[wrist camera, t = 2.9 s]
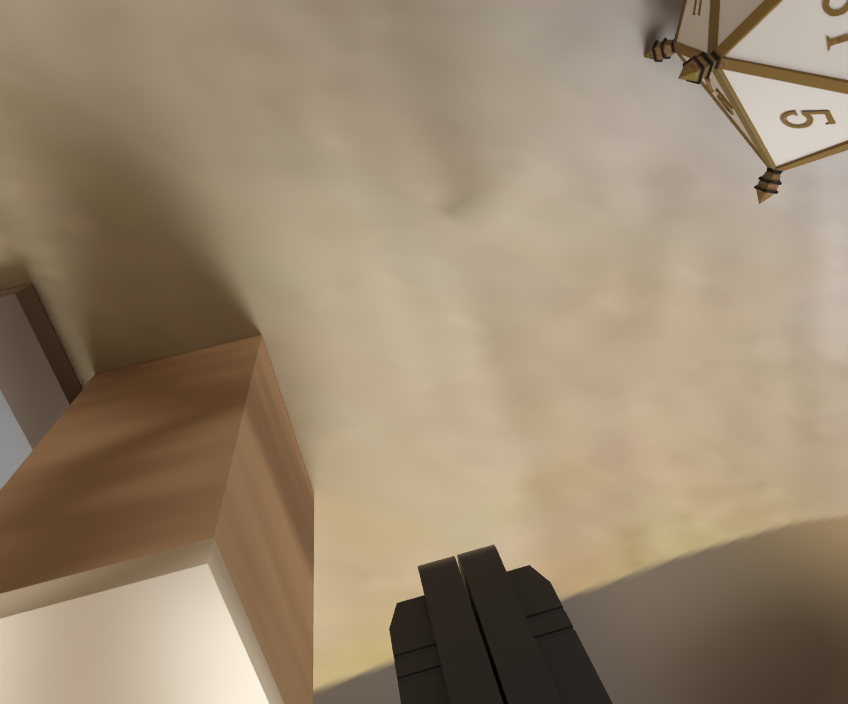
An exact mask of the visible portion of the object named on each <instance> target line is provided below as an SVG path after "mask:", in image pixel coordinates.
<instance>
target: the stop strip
mask: <svg viewBox="0 0 848 704" xmlns="http://www.w3.org/2000/svg"><path fill="white" fill-rule="evenodd" d="M0 390H1V392H2V394H3V396H4V398H5V399H6V401H7V403H8V405H9V407H10V409H11V411H12V412H13V414H14V416H15V418H16V420H17V422H18V424H19V425H20V427H21V429H22V431H23V433H24V435H25V436H26V438H27V440H28V442H29V444H30V446H31V448H32V449H34V448H35V447H36V446H37V445H38V443H39V442H40V441H41V440H42V438H43V437H44V436H45V435H46V434H47V432H48V431H49V430H50V429H51V427H52V426H53V425H54V424H55V423H56V421H57V420H58V419H59V418H60V417H61V415H62V414H63V413H64V412H65V410H66V409H67V408H68V407H69V406H70V404H71V403H72V402H73V401H74V399H75V398H76V397H77V396H78V395H79V393H80V392H81V391H82V388H81V386H80V384H79V382H78V380H77V378H76V376H75V373H74V371H73V369H72V367H71V365H70V363H69V361H68V359H67V357H66V355H65V352H64V350H63V348H62V346H61V344H60V342H59V340H58V338H57V336H56V334H55V332H54V329H53V327H52V325H51V323H50V321H49V319H48V317H47V315H46V313H45V311H44V309H43V306H42V304H41V302H40V300H39V298H38V296H37V294H36V292H35V290H34V288H33V285H32V283H31V284H27V285H23V286H18V287H14V288H9V289H5V290H0Z"/></svg>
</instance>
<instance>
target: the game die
mask: <svg viewBox="0 0 848 704" xmlns="http://www.w3.org/2000/svg"><path fill="white" fill-rule="evenodd" d="M674 53H677V55H678V56H679V57H680V58H681V60H682V61H683V62H684V63H683V69H682V72H681V74H680V76H679V78H678V79H684V80H686V81H688V82H692V83H696V84H700V83H701V85H702V86H703V87H704V88H705V90H706V91H707V92H708V93H709V95H710V96H711V97H712V98H713V100H714V101H715V102H716V103H717V105H718V106H719V107H720V108H721V110H722V111H723V112H724V113H725V115H726V116H727V117H728V118H729V120H730V121H731V122H732V123H733V125H734V126H735V127H736V129H737V130H738V131H739V132H740V134H741V135H742V136H743V137H744V139H745V140H746V141H747V142H748V144H749V145H750V146H751V147H752V149H753V150H754V151H755V152H756V154H757V155H758V156H759V157H760V159H761V160H762V161H763V162H764V164H765V165H766V166H767V171H766V172H765V174H764V175H763V176H761V177H759V180H760V181H759V183H758V185H756V186H755V187H754V188H756V190H757V195H758V200H759V204H760V203H762V202H763V201H765V200H766V199H767V198H769V197H770V196H772V195H773V194H777V193H778V191H777V187H778V185H781V183H782V182H780V174H781V173H782V172H783V171H785V170H788V169H791V168H794V167H797V166H800V165H803V164H806V163H809V162H812V161H815V160H818V159H821V158H824V157H827V156H831V155H834V154H837V153H840V152H843V151H846V150H848V0H684V3H683V7H682V11H681V15H680V19H679V23H678V27H677V31H676V35H675V39H674V40H667V39H666V38H664V40H663V41H661V42H658V40H657V41H655V43H654V45H653V47H652V48H651V49H650V50H649V52H648V53H647V54H646V55H645V56H644V57H646V58H650V59H654V61H655V62H662V60H663V59H670V58H671V55H673V54H674Z"/></svg>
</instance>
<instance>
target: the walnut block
mask: <svg viewBox="0 0 848 704" xmlns="http://www.w3.org/2000/svg"><path fill="white" fill-rule="evenodd" d="M313 585H314V492H313V489H312V486H311V483H310V480H309V477H308V474H307V471H306V468H305V465H304V462H303V459H302V456H301V453H300V450H299V446H298V443H297V440H296V437H295V434H294V431H293V428H292V425H291V422H290V419H289V416H288V413H287V410H286V407H285V404H284V401H283V398H282V395H281V392H280V388H279V385H278V382H277V379H276V376H275V373H274V370H273V367H272V364H271V361H270V358H269V355H268V352H267V349H266V346H265V343H264V340H263V337H262V335H258V336H254V337H250V338H245V339H241V340H237V341H233V342H229V343H224V344H220V345H216V346H212V347H208V348H204V349H199V350H195V351H191V352H187V353H183V354H179V355H174V356H170V357H166V358H162V359H158V360H154V361H149V362H145V363H141V364H137V365H133V366H128V367H124V368H120V369H116V370H112V371H108V372H103V373H99V374H95V375H94V376H93V378H92V379H91V380H90V381H89V382H88V384H87V385H86V386H85V387H84V389H83V390H82V391H81V392H80V393H79V395H78V396H77V397H76V398H75V399H74V401H73V402H72V403H71V404H70V406H69V407H68V408H67V409H66V410H65V412H64V413H63V414H62V415H61V417H60V418H59V419H58V420H57V421H56V423H55V424H54V425H53V426H52V427H51V429H50V430H49V431H48V432H47V434H46V435H45V436H44V437H43V438H42V440H41V441H40V442H39V443H38V445H37V446H36V447H35V448H34V449H33V451H32V452H31V453H30V454H29V456H28V457H27V458H26V459H25V460H24V462H23V463H22V464H21V465H20V466H19V468H18V469H17V470H16V471H15V473H14V474H13V475H12V476H11V477H10V479H9V480H8V481H7V482H6V484H5V485H4V486H3V487H2V488H1V490H0V704H313Z"/></svg>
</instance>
